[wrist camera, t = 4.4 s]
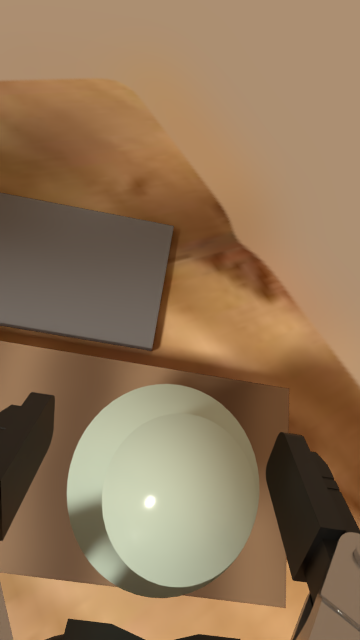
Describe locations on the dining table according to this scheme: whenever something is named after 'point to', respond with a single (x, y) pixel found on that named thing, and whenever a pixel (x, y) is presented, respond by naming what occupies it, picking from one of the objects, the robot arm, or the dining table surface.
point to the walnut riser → (69, 425)
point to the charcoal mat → (81, 272)
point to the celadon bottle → (163, 490)
